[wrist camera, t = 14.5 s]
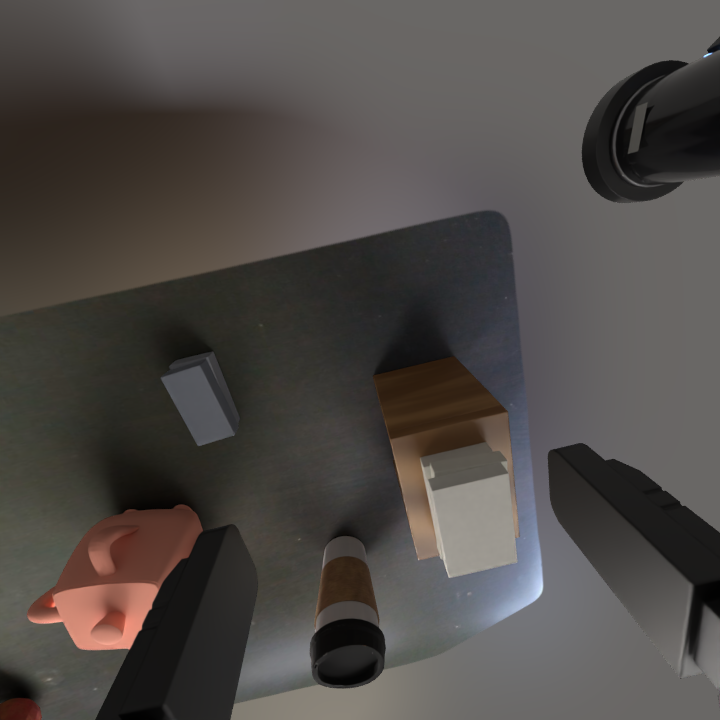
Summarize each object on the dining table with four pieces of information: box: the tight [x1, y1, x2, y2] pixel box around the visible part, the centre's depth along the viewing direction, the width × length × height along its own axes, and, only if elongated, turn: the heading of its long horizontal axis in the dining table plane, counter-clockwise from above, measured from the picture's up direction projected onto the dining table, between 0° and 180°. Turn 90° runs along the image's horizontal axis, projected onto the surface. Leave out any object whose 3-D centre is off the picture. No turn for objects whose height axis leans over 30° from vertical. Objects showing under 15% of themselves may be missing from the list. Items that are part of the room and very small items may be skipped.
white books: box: [420, 442, 507, 560], centre depth 30 cm, size 10×7×3 cm
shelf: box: [373, 356, 520, 560], centre depth 38 cm, size 14×10×14 cm
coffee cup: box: [310, 536, 386, 688], centre depth 44 cm, size 8×8×15 cm
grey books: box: [161, 351, 240, 446], centre depth 40 cm, size 9×5×4 cm, turn 13°
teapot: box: [27, 505, 203, 650], centre depth 42 cm, size 17×16×13 cm
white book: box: [428, 462, 517, 578], centre depth 28 cm, size 9×6×1 cm, turn 13°
